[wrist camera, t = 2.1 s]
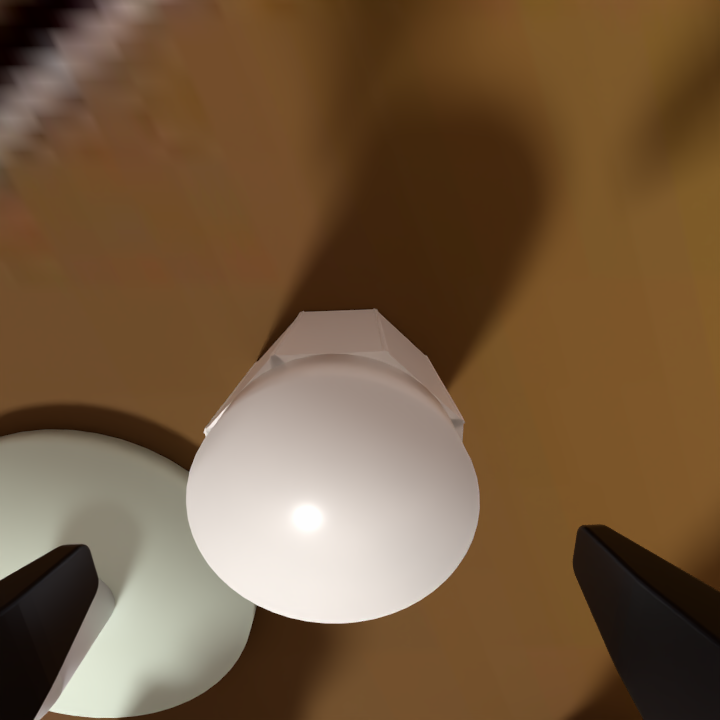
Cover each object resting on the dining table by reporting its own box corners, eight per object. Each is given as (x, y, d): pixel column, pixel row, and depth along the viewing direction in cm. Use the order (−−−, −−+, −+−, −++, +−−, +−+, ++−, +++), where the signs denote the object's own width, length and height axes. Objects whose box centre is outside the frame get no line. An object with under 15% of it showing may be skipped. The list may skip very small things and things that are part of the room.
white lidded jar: (428, 306, 13) (491, 368, 7) (426, 463, 15) (474, 619, 9) (248, 312, 13) (157, 381, 7) (267, 469, 15) (208, 629, 9)
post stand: (236, 422, 15) (169, 526, 9) (274, 688, 19) (243, 861, 14) (-144, 436, 15) (-420, 549, 9) (-19, 698, 19) (-163, 877, 14)
